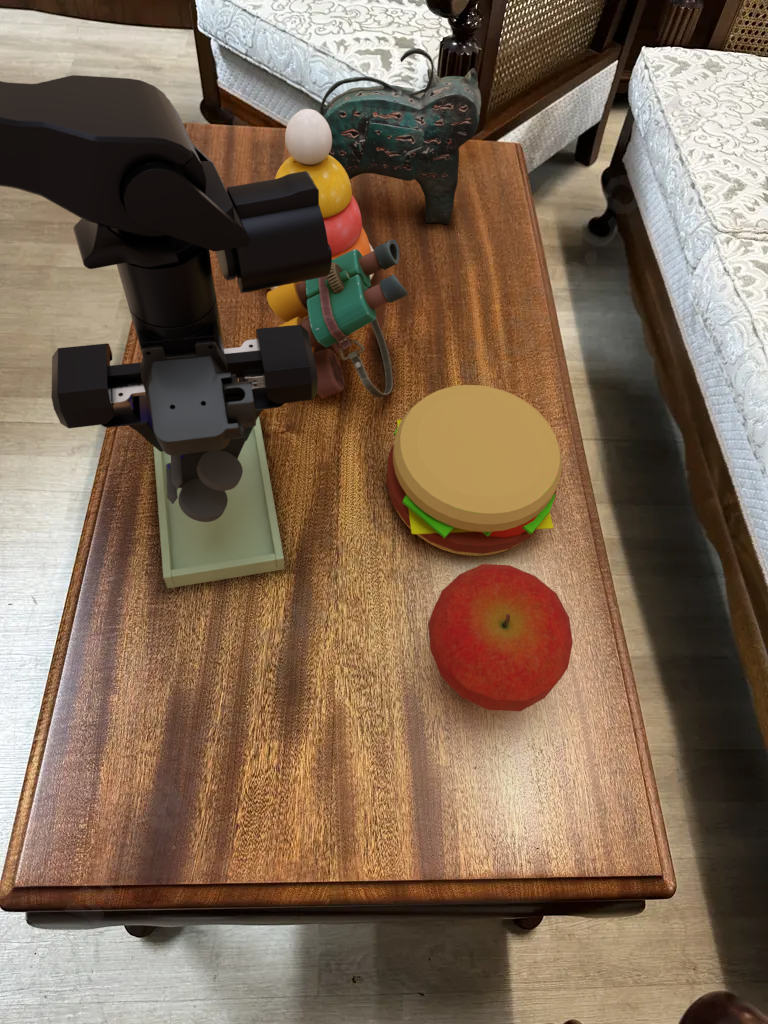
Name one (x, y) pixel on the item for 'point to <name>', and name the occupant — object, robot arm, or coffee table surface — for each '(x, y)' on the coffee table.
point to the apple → (500, 637)
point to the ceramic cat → (406, 132)
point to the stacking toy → (325, 181)
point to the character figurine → (204, 480)
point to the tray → (222, 526)
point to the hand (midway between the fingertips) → (203, 442)
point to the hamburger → (474, 470)
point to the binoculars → (342, 313)
